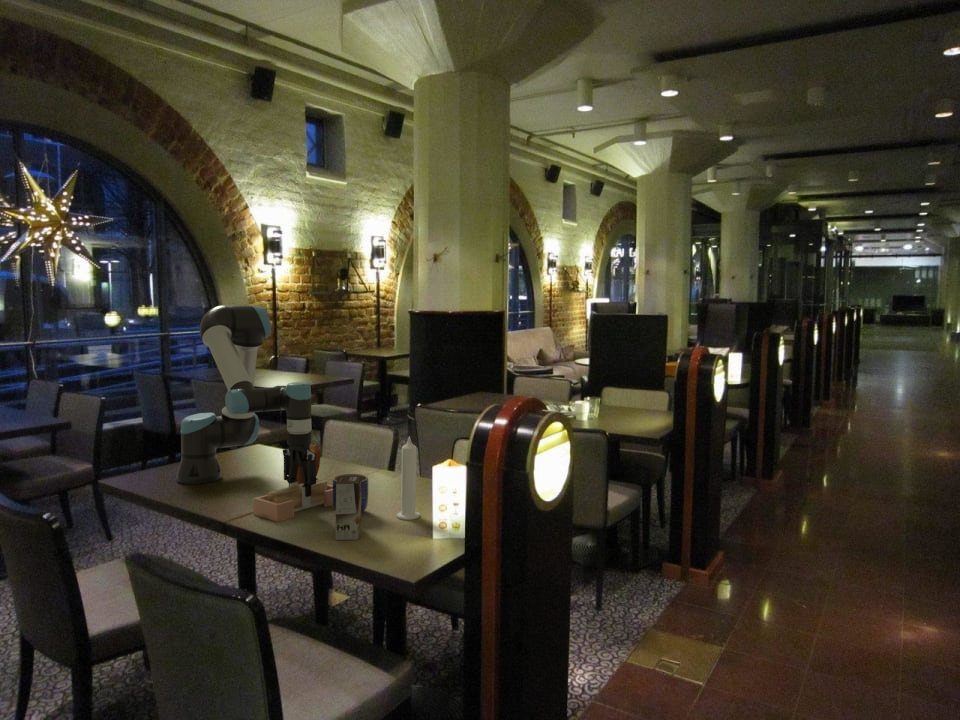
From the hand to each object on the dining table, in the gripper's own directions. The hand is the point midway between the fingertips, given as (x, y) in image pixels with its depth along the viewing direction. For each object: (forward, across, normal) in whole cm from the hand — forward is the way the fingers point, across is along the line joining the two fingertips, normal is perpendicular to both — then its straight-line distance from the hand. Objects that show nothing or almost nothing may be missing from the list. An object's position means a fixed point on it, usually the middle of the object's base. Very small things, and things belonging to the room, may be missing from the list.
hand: (300, 504), depth 220 cm
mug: (+1, -15, +16) cm, 22 cm away
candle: (+2, +31, +16) cm, 35 cm away
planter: (+2, +15, +7) cm, 17 cm away
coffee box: (+2, +29, -7) cm, 30 cm away
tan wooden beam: (0, -1, 0) cm, 1 cm away
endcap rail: (+1, -1, 0) cm, 2 cm away
